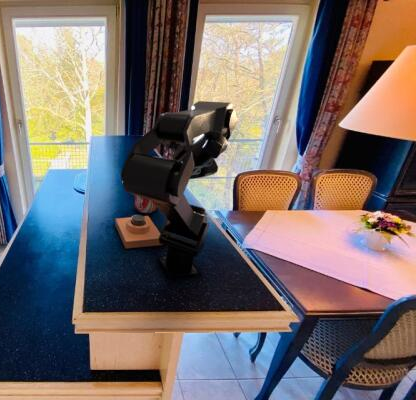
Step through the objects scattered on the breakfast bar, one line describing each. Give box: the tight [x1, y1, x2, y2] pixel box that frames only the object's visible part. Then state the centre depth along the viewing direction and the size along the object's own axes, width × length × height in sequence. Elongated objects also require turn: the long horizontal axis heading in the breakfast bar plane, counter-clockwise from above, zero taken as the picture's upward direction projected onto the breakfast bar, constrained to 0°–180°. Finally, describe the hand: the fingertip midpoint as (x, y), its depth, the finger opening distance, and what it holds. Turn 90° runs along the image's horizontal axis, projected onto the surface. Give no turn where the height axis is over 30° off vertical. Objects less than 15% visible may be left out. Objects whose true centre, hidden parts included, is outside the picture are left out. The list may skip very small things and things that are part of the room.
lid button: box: [131, 214, 145, 226], centre depth 72 cm, size 4×4×2 cm
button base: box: [114, 215, 164, 249], centre depth 73 cm, size 12×10×4 cm
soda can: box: [134, 195, 157, 214], centre depth 84 cm, size 7×7×12 cm
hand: (165, 181), depth 73 cm, fingers open, 9 cm apart
